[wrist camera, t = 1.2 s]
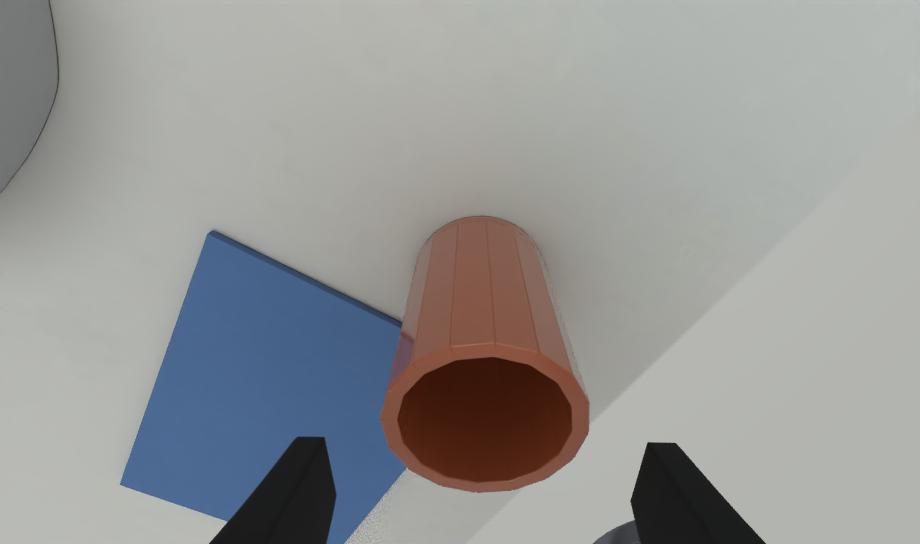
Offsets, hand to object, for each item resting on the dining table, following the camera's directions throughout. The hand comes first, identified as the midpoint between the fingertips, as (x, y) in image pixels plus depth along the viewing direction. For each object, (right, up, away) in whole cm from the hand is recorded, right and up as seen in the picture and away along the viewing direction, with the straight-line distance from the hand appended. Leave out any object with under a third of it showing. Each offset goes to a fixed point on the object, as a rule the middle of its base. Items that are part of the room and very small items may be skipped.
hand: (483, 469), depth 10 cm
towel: (-9, -4, +13) cm, 16 cm away
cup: (0, +4, +8) cm, 9 cm away
